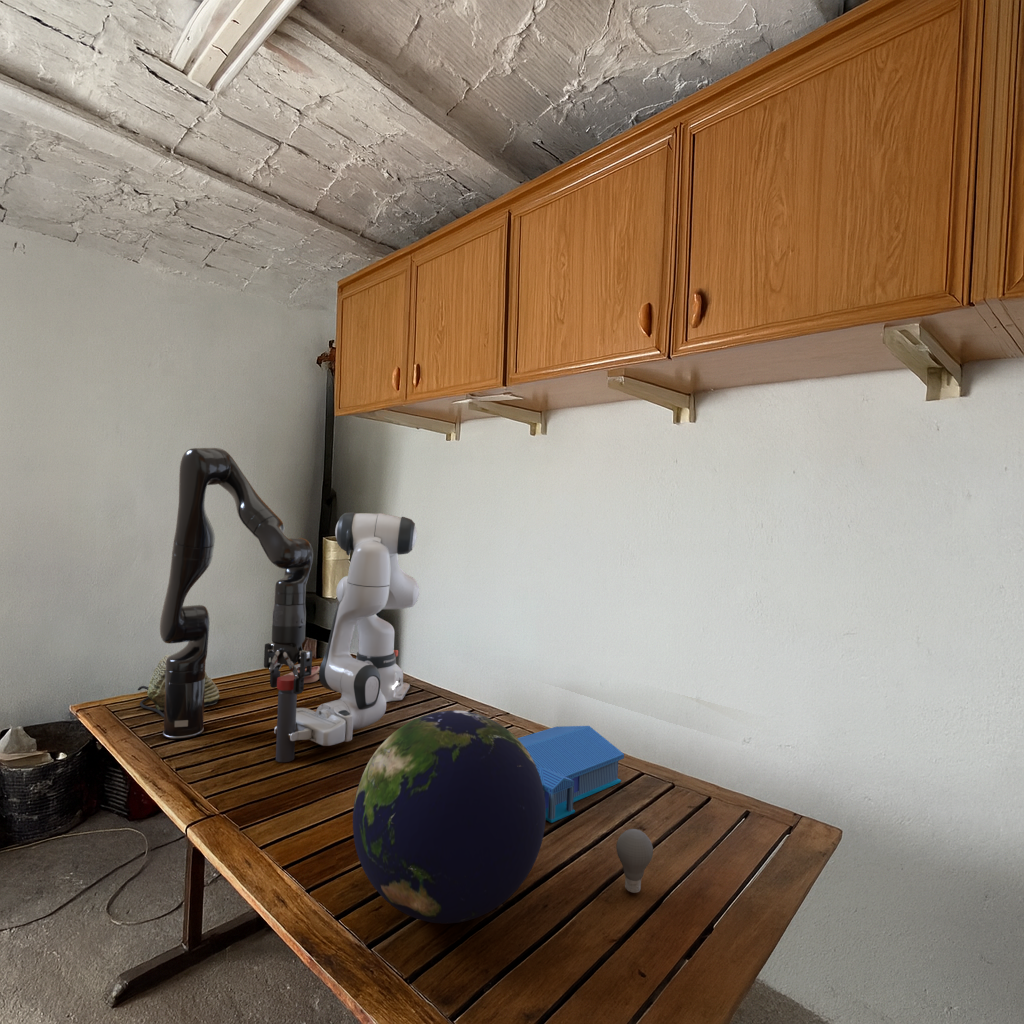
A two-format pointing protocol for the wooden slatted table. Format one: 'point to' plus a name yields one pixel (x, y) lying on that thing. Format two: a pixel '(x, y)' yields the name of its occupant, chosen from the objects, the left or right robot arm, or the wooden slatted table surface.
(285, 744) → the dark gray cylinder
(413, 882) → the globe
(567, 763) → the model building
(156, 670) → the fossil
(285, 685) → the lid
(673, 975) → the wooden slatted table surface
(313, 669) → the anatomical model
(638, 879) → the light bulb
